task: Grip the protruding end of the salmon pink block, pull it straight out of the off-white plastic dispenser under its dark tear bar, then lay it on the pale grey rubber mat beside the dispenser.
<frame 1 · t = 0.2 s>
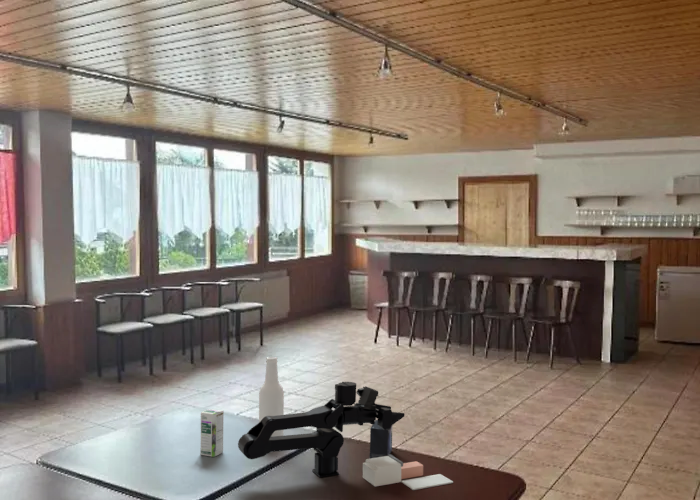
hand: (397, 411, 217), 17 cm above the table, tool horizontal, fingers open, 9 cm apart
small box: (381, 455, 224), on the table
salmon pink block: (401, 477, 204), on the table
dispenser: (383, 479, 202), on the table
syrup box: (211, 454, 223), on the table
mat: (427, 482, 200), on the table
alcohol: (271, 440, 239), on the table
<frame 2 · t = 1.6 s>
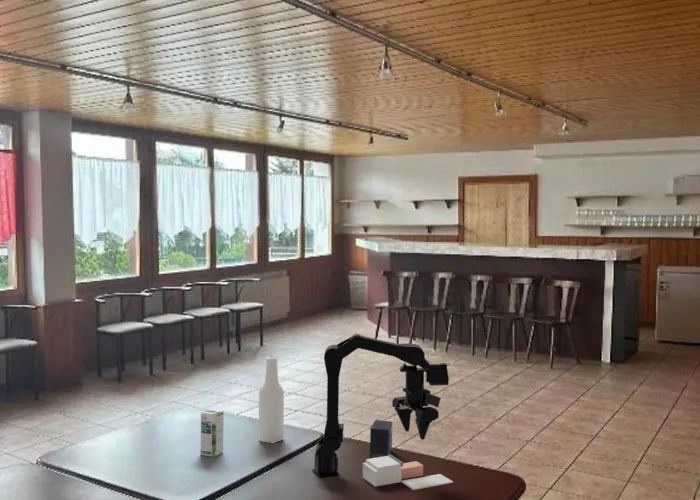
hand: (414, 435, 206), 12 cm above the table, tool pointing down, fingers open, 9 cm apart
nothing on the table moved.
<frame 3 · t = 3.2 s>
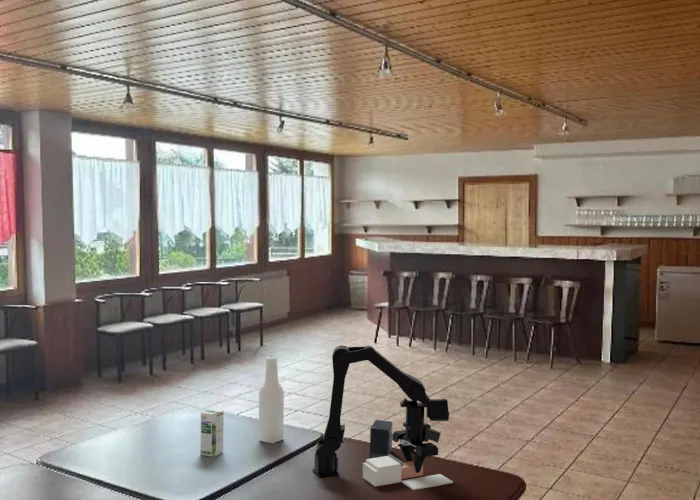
hand: (414, 470, 206), 1 cm above the table, tool pointing down, fingers closed on salmon pink block, 4 cm apart
salmon pink block: (401, 476, 204), on the table, touching gripper
everything else where it was.
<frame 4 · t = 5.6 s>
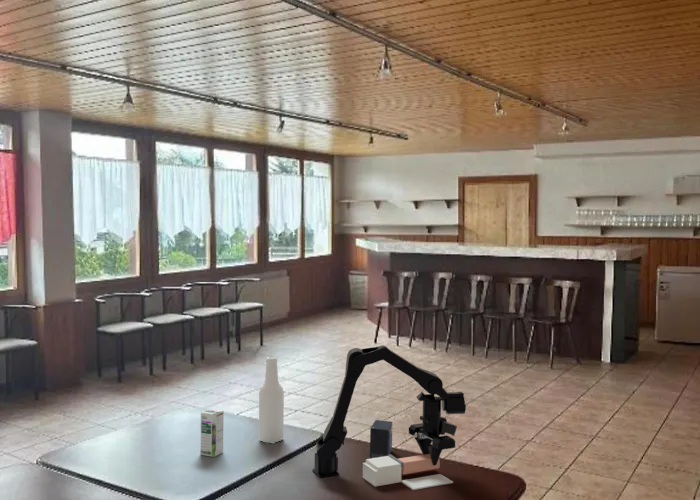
hand: (430, 463, 209), 3 cm above the table, tool pointing down, fingers closed on salmon pink block, 4 cm apart
salmon pink block: (418, 469, 207), point 1 cm above the table, touching gripper
everything else where it was.
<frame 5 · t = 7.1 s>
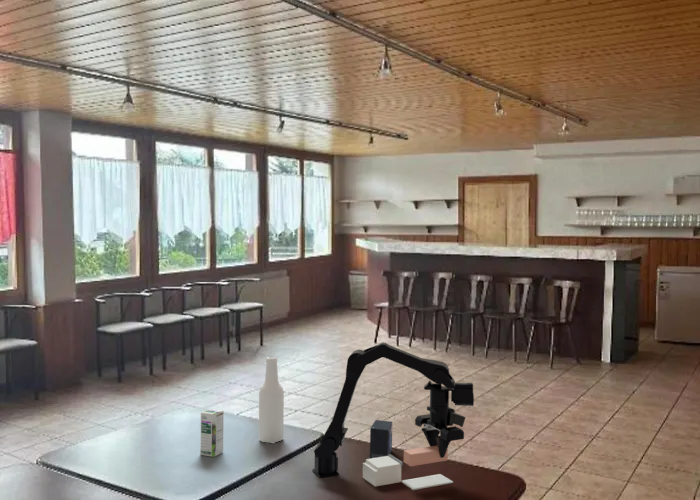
hand: (438, 455, 201), 8 cm above the table, tool pointing down, fingers closed on salmon pink block, 4 cm apart
salmon pink block: (425, 461, 199), point 7 cm above the table, touching gripper
everything else where it was.
when the fingers open (2 cm above the table, at t = 8.3 s): salmon pink block stays where it is, resting on mat.
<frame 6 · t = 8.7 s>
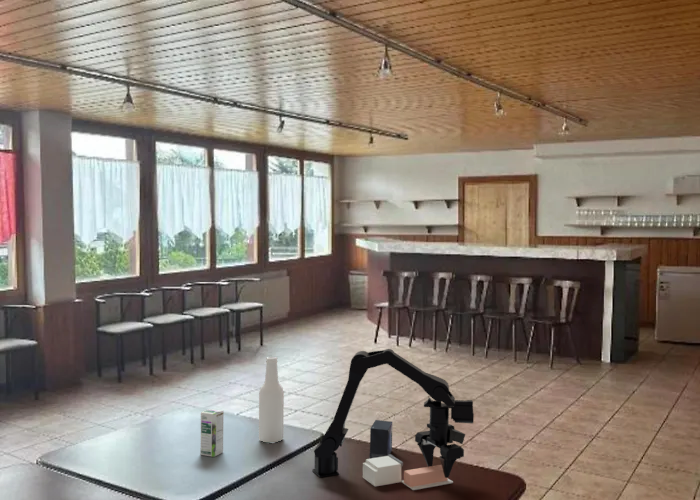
hand: (438, 472, 201), 2 cm above the table, tool pointing down, fingers open, 9 cm apart
salmon pink block: (425, 481, 199), resting on mat
everything else where it was.
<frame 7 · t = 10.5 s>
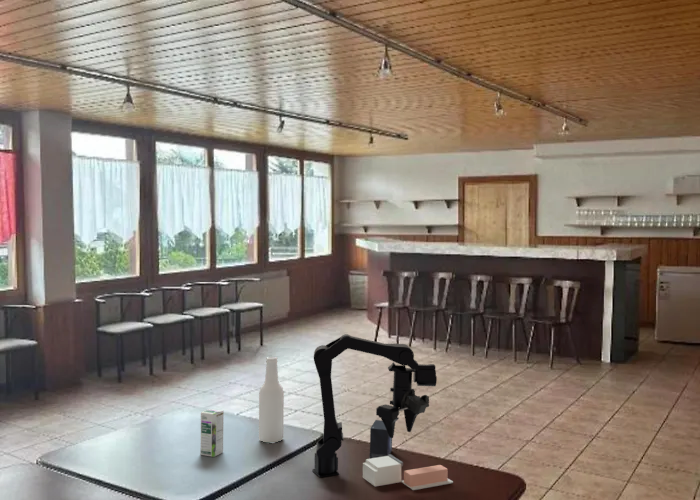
hand: (400, 434, 207), 12 cm above the table, tool pointing down, fingers open, 9 cm apart
nothing on the table moved.
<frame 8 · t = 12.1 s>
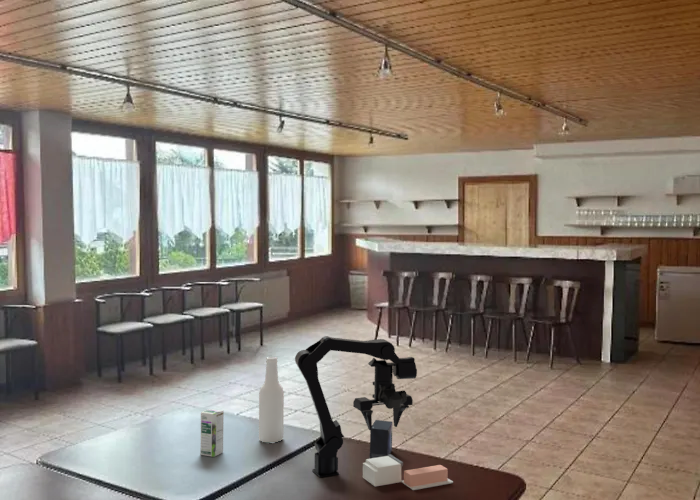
hand: (382, 428, 210), 13 cm above the table, tool pointing down, fingers open, 9 cm apart
nothing on the table moved.
at the end: salmon pink block inside the target area (0.0 cm from its centre), resting on mat; salmon pink block moved 8.5 cm from its start; the gripper is holding nothing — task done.
